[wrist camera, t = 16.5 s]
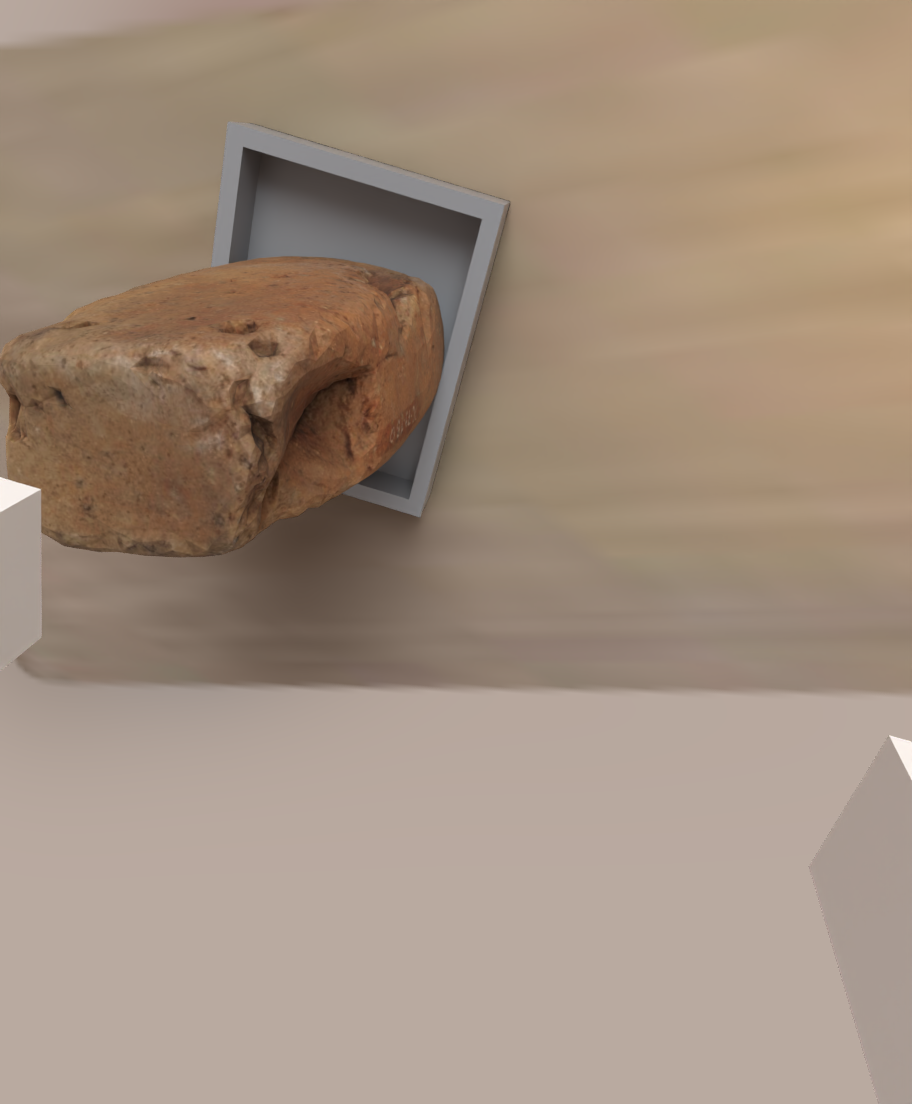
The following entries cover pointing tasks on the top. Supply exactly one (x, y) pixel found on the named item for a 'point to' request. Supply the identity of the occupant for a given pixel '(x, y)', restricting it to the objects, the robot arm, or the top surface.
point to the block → (218, 401)
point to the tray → (367, 256)
